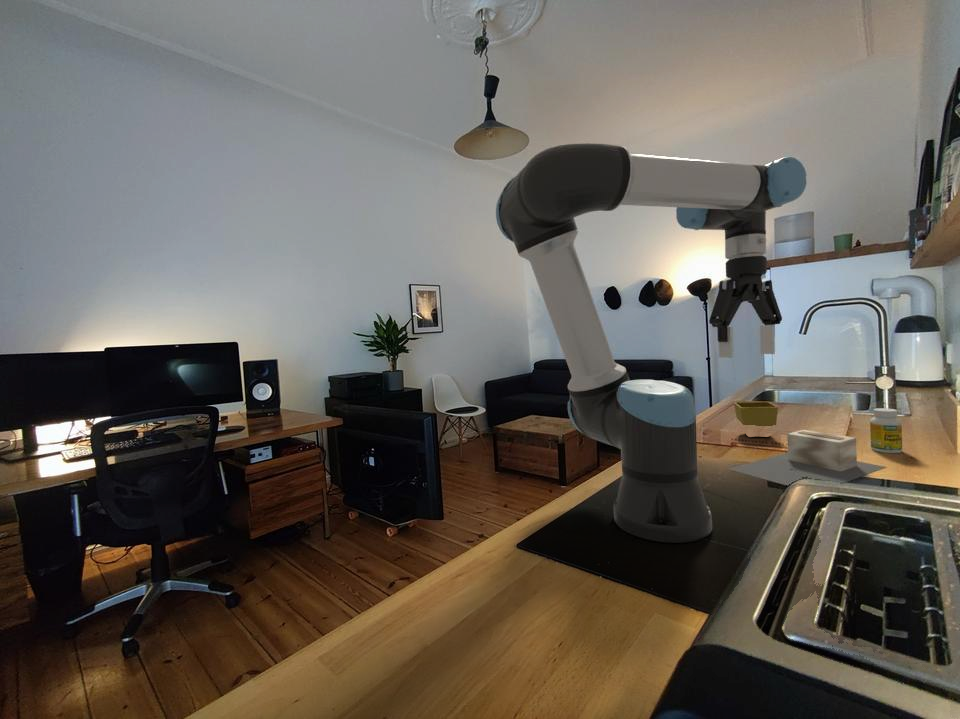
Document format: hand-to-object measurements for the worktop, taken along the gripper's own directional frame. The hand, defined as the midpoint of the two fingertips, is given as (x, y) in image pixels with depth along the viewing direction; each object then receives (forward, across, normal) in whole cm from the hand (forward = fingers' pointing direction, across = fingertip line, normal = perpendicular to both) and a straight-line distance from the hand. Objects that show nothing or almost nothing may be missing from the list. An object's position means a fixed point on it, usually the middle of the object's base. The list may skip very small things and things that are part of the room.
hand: (747, 355), depth 92 cm
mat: (+25, +7, -7) cm, 27 cm away
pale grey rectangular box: (+24, +13, -7) cm, 28 cm away
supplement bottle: (+24, +34, -9) cm, 43 cm away
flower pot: (+24, +26, +16) cm, 39 cm away
